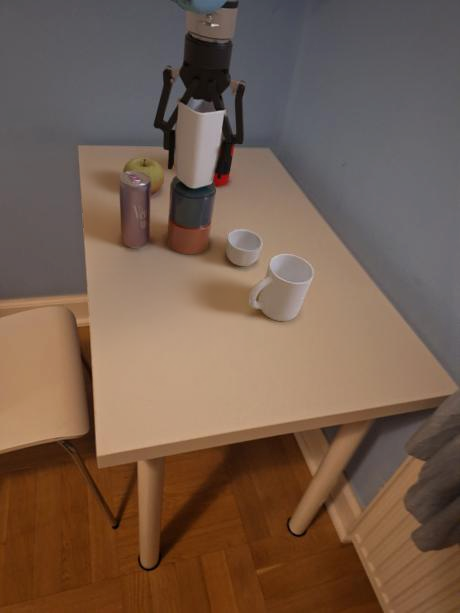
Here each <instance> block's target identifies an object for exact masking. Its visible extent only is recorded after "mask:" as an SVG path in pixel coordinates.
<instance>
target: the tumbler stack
mask: <svg viewBox="0 0 460 613" xmlns="http://www.w3.org/2000/svg"><path fill="white" fill-rule="evenodd" d="M216 195H217V188H216V186H215V184H214V182H213V181H212V183H211V184H210V185H207V186H204V187H200V188H197V189H191V188H189V187H187V186H186V185H185V184H184V183H182V182H181V181H180V180H179V179H178V178H177V176H176V175H175V176H173V178H172V180H171V182H170V184H169V199H168V200H169V201H168V218H167V234H166V242H167V244H168V246H169V248H170V249H171V250H173V251H175V252H177V253H179V254H182V255H187V256H188V255H190V256H191V255H198V254H201V253H203V252H205V251H206V250H207V248H208V246H209V242H210V236H211V230H212V229H211V228H212V220H213V215H214V209H215V202H216Z"/></svg>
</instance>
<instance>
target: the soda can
mask: <svg viewBox="0 0 460 613" xmlns="http://www.w3.org/2000/svg"><path fill="white" fill-rule="evenodd" d="M223 139H224V140H225V138H224V136H223ZM222 142H223V141H222ZM235 145H236V144H234V145H233V146H232V151H231V157H230V161H229V162H227V161H224V163H223V169H222V175H221V179H218V178H217V174H218V168H219V161H220V156H219V160H218V164H217V168H216V171H215V175H214V178H213V182H214V184H215V187H222V186H225V185H227V184H228V183H229V179H230V174H231V169H232V168H231V167H232V162H233V156H234V151H235ZM221 147H222V146H221ZM220 154H221V151H220Z"/></svg>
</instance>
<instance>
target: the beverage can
mask: <svg viewBox="0 0 460 613" xmlns="http://www.w3.org/2000/svg"><path fill="white" fill-rule="evenodd" d="M118 188H119V208H120V209H119V214H120V215H119V217H120V239H121V242H122V243H123V244H124V245H125V246H126V247H128V248H131V249H141V248H144V247H145V246H147V245H148V243H149V242H150V238H151V236H150V235H151V234H150V233H151V200H152V199H151V198H152V196H151V195H152V194H151V182H150V177H149V176H148V175H147V174H145V173H143V172H140V171H126V172H124V173H123V172H122V173H121V174H120V175H119V181H118Z"/></svg>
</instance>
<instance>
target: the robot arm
mask: <svg viewBox="0 0 460 613" xmlns="http://www.w3.org/2000/svg"><path fill="white" fill-rule="evenodd" d="M170 1H171V2H174V3H176V4H177V6H178V7H179V8H181V9H182V10H184V11H186V15H185V19H186V20H185V28H186V31H188V32H187V33H186V34H184V43H183V44H184V45H183V60H182V65H181V67H179V68H178V67H172V66H171V65H166V66H165V68H164V69H163V71H162V82H163V86H162V89H161V93H160V96H159V101H158V104H157V109H156V113H155V116H154V120H153V128H155V129H159V130H161V131H162V133H163V138H162V139H163V142H162V143H163V144H162V147H163V150H164V151H168V156H167V158H168V159H167V170H172V169H173V167H174V165H175V129H173V128H174V127H175V125H176V121H177V120H178V105H179V104H178V105H177V104H176V106H175V107H174V110H173V111H172V113H171V115H170V116H169V117H168V120H167V121H166V120H164V119H165V116H166V110H167V107H168V103H169V101H170V95H171V92H172V88H173V84H176V82H177V80H178V78H180V80H181V82H182V84H183V85H184V88H185V91H184V92H183V95H182V96H181V97H182V98H181V97H180V98H181V100H180V102H182V103H183V104H185V105H187V103H188V102H189V100H190V99H191V97H193V99H196V100H204V101H206V102H213V105H214V108H215V109H216V111H221V110H222V111H223V110H224V106H225V103H224V102H225V101H224V98H223V95H222V94H223V93H225V91H226V90H227V89H228V88H230V89H231V95H233V96H234V116H235V134H234V133H233V129H232V126H231V123H230V119H229V117H228V116H229V115H227V117H225V114H224V118H223V125H222V131H223V135H224V138H225V140H224V139H223V142H222V147H221V154H220V161H219V168H218V174H217V178H218V179H221V175H222V169H223V163H224V161H227V162H229V161H230V157H231V151H232V146H233V145H234V144H235V145H242V144H243V143H244V140H245V139H244V138H245V130H244V129H245V128H244V126H245V124H244V123H245V122H244V95H245V91H246V81H245V80H243V79H242V80H240V81H239V80H236V79H233V78H231V74H230V68H231V61H232V52H233V46H234V44H233V42H232V40H231V39H233V38H234V37H235V32H236V25H237V18H238V12H239V1H240V0H170Z"/></svg>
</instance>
